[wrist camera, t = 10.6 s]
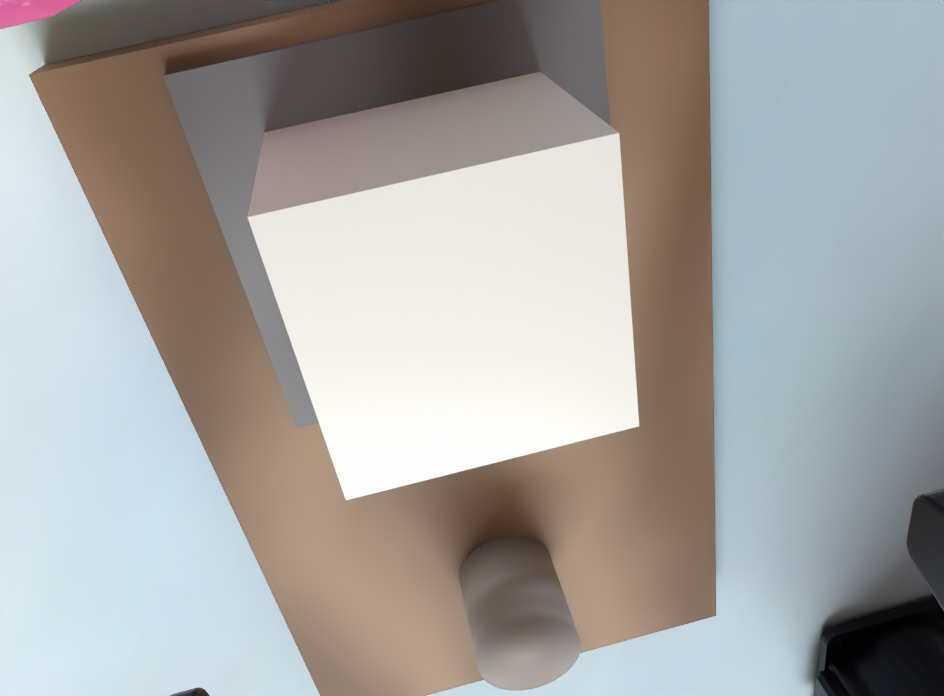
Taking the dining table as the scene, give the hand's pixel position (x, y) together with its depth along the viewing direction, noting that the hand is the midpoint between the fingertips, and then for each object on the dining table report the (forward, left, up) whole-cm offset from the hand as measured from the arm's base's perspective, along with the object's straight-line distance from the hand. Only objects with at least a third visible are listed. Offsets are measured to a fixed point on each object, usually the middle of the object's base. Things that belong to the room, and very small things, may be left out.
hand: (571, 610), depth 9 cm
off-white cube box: (0, -1, -11) cm, 11 cm away
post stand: (0, +5, -12) cm, 13 cm away
